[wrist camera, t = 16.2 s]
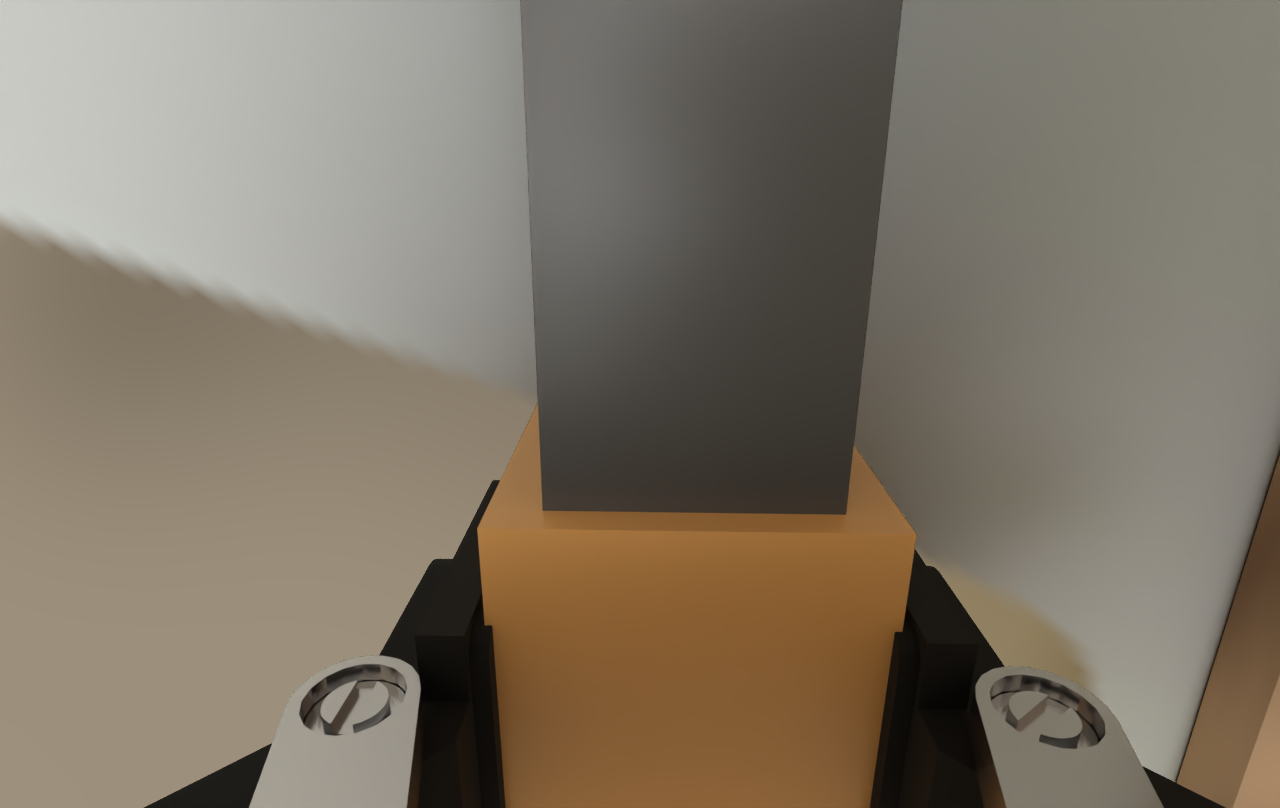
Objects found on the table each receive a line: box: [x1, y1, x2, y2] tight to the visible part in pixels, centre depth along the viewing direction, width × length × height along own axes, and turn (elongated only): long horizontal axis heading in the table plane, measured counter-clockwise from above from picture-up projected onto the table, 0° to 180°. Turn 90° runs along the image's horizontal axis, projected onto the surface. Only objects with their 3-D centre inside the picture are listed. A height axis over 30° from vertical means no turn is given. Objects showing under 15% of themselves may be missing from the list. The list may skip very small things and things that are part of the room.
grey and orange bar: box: [477, 0, 917, 808], centre depth 8 cm, size 23×4×4 cm, turn 0°
